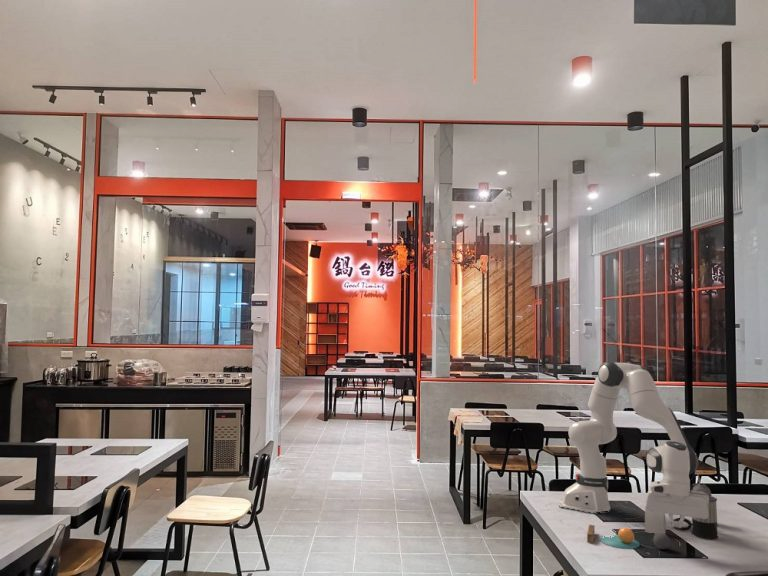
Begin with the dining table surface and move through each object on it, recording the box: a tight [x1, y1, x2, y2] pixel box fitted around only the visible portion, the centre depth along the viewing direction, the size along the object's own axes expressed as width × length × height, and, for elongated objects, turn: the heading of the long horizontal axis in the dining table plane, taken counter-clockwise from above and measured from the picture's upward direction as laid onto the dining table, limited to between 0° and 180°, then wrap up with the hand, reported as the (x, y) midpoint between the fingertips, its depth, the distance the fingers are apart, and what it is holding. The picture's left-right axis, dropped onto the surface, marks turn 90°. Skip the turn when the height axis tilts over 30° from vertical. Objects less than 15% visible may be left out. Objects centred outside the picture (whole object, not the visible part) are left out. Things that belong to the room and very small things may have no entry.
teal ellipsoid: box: [599, 534, 641, 550], centre depth 212 cm, size 14×14×1 cm
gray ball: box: [652, 533, 671, 550], centre depth 206 cm, size 6×6×6 cm
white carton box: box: [644, 506, 667, 535], centre depth 223 cm, size 4×7×10 cm, turn 53°
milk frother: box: [670, 495, 719, 541], centre depth 225 cm, size 14×16×15 cm
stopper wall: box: [586, 524, 596, 544], centre depth 216 cm, size 2×12×3 cm, turn 157°
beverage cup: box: [692, 472, 712, 496], centre depth 238 cm, size 7×7×20 cm
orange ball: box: [617, 526, 635, 543], centre depth 211 cm, size 6×6×6 cm
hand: (676, 526), depth 205 cm, fingers closed
